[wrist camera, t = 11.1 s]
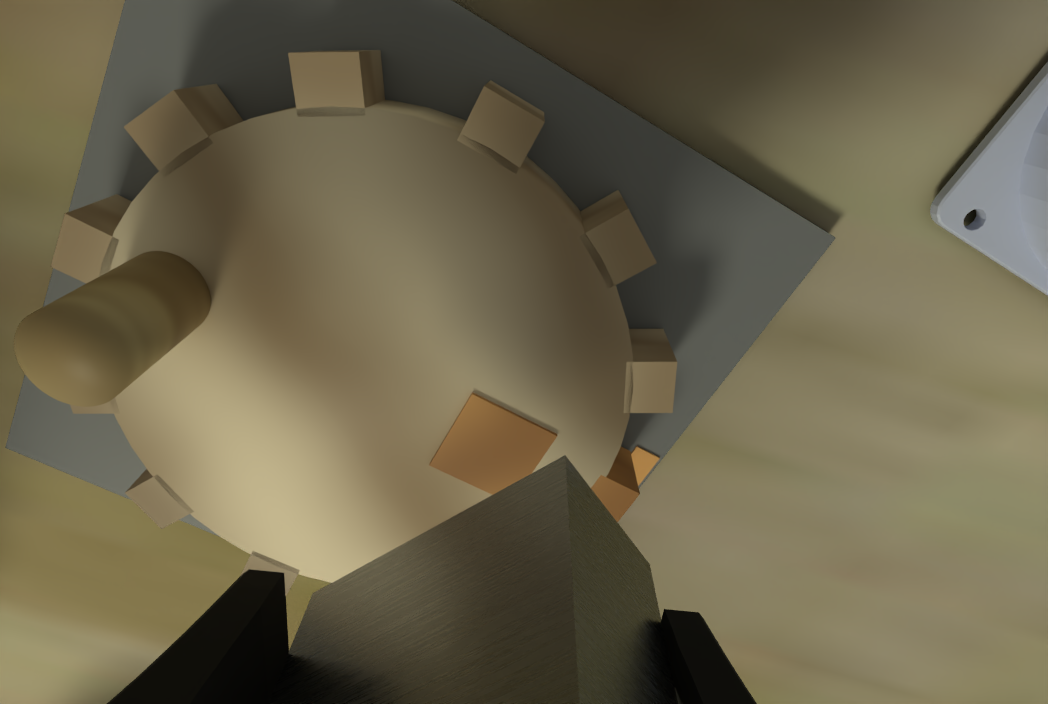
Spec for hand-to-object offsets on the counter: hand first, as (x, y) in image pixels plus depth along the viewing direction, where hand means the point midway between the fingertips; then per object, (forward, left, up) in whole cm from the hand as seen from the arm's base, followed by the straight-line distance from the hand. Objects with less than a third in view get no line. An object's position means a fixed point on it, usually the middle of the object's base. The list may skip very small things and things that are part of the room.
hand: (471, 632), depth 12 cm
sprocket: (+3, 0, -8) cm, 9 cm away
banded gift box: (0, 0, -1) cm, 1 cm away
